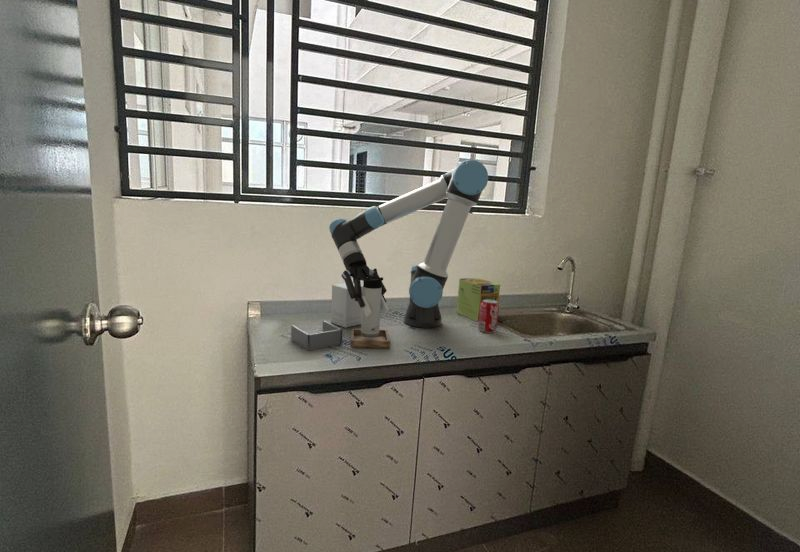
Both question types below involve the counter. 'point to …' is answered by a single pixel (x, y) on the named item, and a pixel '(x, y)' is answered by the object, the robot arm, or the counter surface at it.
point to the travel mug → (372, 306)
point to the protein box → (475, 296)
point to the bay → (317, 337)
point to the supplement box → (344, 307)
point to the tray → (370, 340)
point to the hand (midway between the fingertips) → (377, 313)
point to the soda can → (488, 315)
